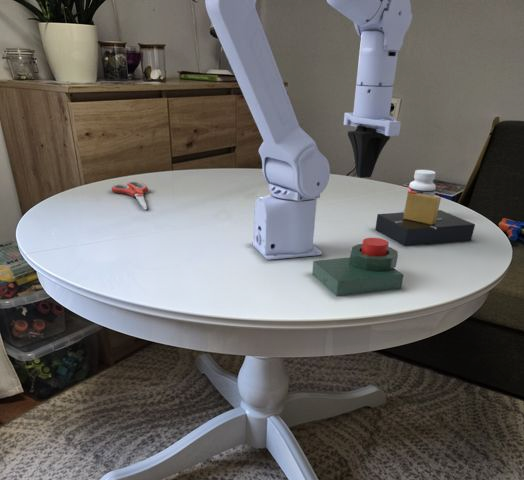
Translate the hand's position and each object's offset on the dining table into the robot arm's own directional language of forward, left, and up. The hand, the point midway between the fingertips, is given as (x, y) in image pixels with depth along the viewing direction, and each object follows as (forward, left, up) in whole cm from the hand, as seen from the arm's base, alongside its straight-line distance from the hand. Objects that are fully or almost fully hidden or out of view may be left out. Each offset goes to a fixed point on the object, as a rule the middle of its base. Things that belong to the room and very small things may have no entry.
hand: (363, 176), depth 82 cm
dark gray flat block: (+13, -2, -10) cm, 17 cm away
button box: (-10, -19, -10) cm, 24 cm away
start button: (-7, -18, -7) cm, 21 cm away
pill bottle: (+20, +10, -11) cm, 24 cm away
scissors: (-34, +37, -11) cm, 51 cm away
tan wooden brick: (+11, -3, -7) cm, 13 cm away
